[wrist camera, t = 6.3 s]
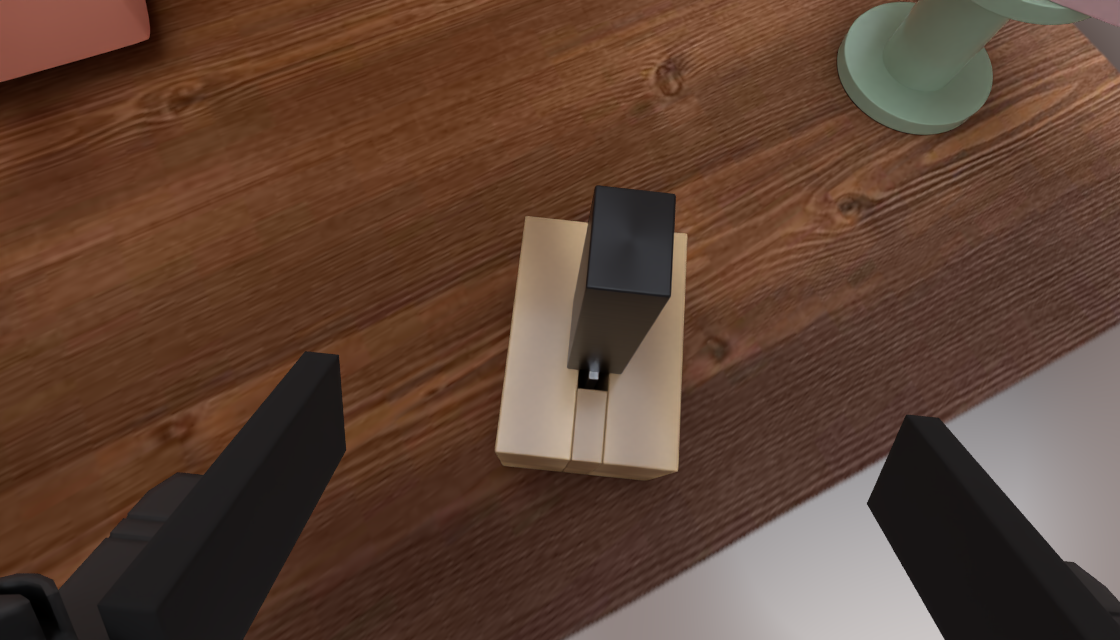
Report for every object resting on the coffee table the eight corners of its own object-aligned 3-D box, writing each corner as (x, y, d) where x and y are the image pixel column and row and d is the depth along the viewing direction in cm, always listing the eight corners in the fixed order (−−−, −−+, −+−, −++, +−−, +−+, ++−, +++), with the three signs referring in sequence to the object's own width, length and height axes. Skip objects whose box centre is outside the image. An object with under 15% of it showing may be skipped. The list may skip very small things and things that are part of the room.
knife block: (657, 288, 32) (687, 233, 26) (647, 481, 29) (678, 471, 23) (526, 273, 32) (525, 215, 26) (502, 465, 29) (494, 452, 23)
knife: (608, 340, 31) (677, 183, 16) (602, 409, 30) (671, 308, 15) (565, 335, 31) (596, 174, 16) (558, 404, 30) (584, 298, 15)
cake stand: (1005, 44, 38) (1161, -110, 29) (967, 168, 35) (1127, 40, 26) (855, -15, 39) (958, -183, 30) (807, 101, 36) (904, -46, 27)
